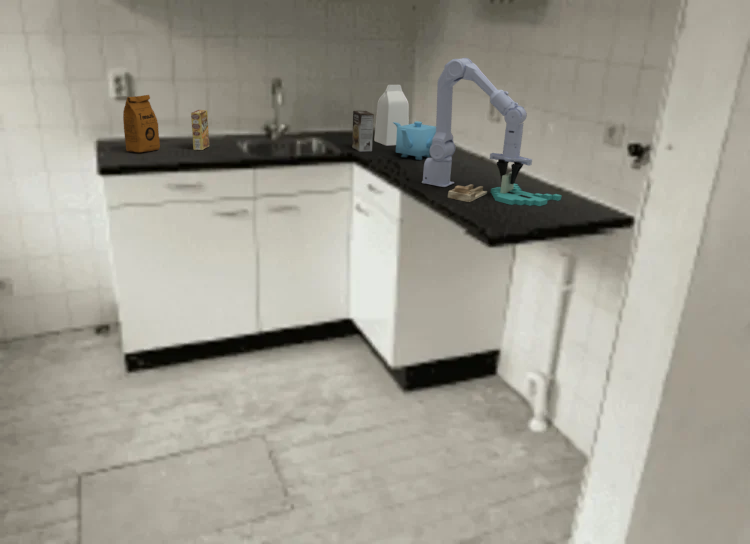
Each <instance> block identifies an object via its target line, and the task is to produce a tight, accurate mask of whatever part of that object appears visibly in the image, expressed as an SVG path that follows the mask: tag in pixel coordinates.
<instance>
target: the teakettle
mask: <svg viewBox="0 0 750 544" xmlns="http://www.w3.org/2000/svg"><path fill="white" fill-rule="evenodd" d="M393 123H394V124H395V125H396V126H397V137H396V145H395V154H397V153H398V154H401V156H400V157H401V158H408V157H409V156H412V157H415V160H416V161H422V160H423V157H424V158H432V157H431V155H430V147H431V145H432V139H433V137H434V135H435V133H436V125H430V124H423V122H422V121H414V122H413V123H409V124H408V125H404V126H401V125H400V124H399V123H396V122H393Z"/></svg>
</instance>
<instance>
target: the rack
mask: <svg viewBox="0 0 750 544" xmlns="http://www.w3.org/2000/svg"><path fill="white" fill-rule="evenodd" d="M464 187H470V188H469V192H472V193H471V194H469V195H468V194H463V193H458V192H454V191H455V188H453V189H450V190H448V193H447V198H448V199H451V200H452V199H453V200H456V201H461V202H467V203H471V202H473V201H475V200H476V199H478V198H481V197H483V196H485V195H487V194H488V191H487V190H484V186H483V185H480V186H479V185H478V186H476V187H475V188H474V184H471V183H470V184H468V185H466V186H464Z"/></svg>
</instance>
